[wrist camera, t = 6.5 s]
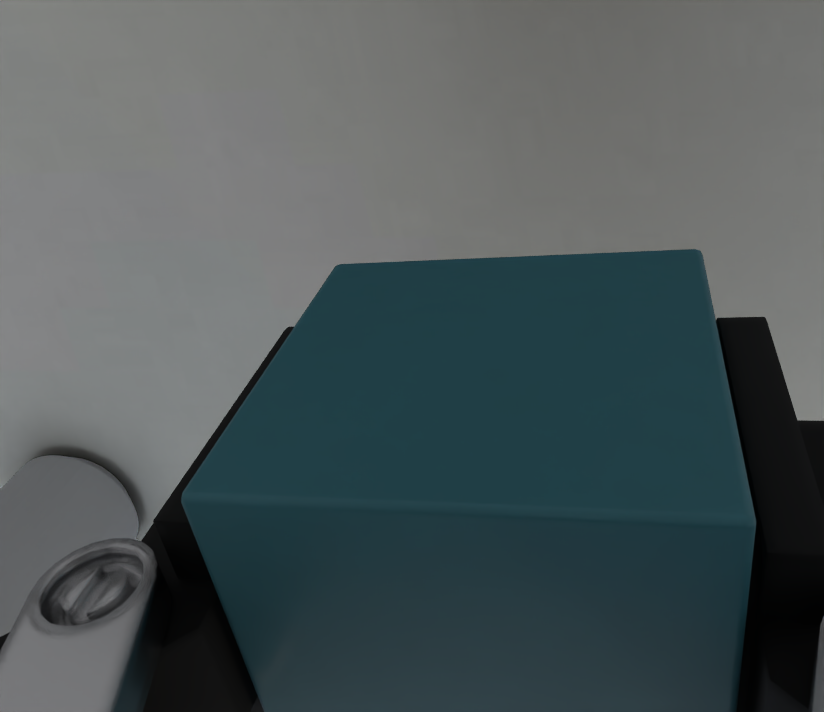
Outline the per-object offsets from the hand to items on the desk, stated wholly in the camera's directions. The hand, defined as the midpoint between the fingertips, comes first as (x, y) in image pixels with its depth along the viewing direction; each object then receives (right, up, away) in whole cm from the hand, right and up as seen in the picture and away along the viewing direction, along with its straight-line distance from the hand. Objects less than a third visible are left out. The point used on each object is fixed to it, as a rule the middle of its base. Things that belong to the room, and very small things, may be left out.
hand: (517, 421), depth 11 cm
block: (0, 0, 0) cm, 0 cm away
